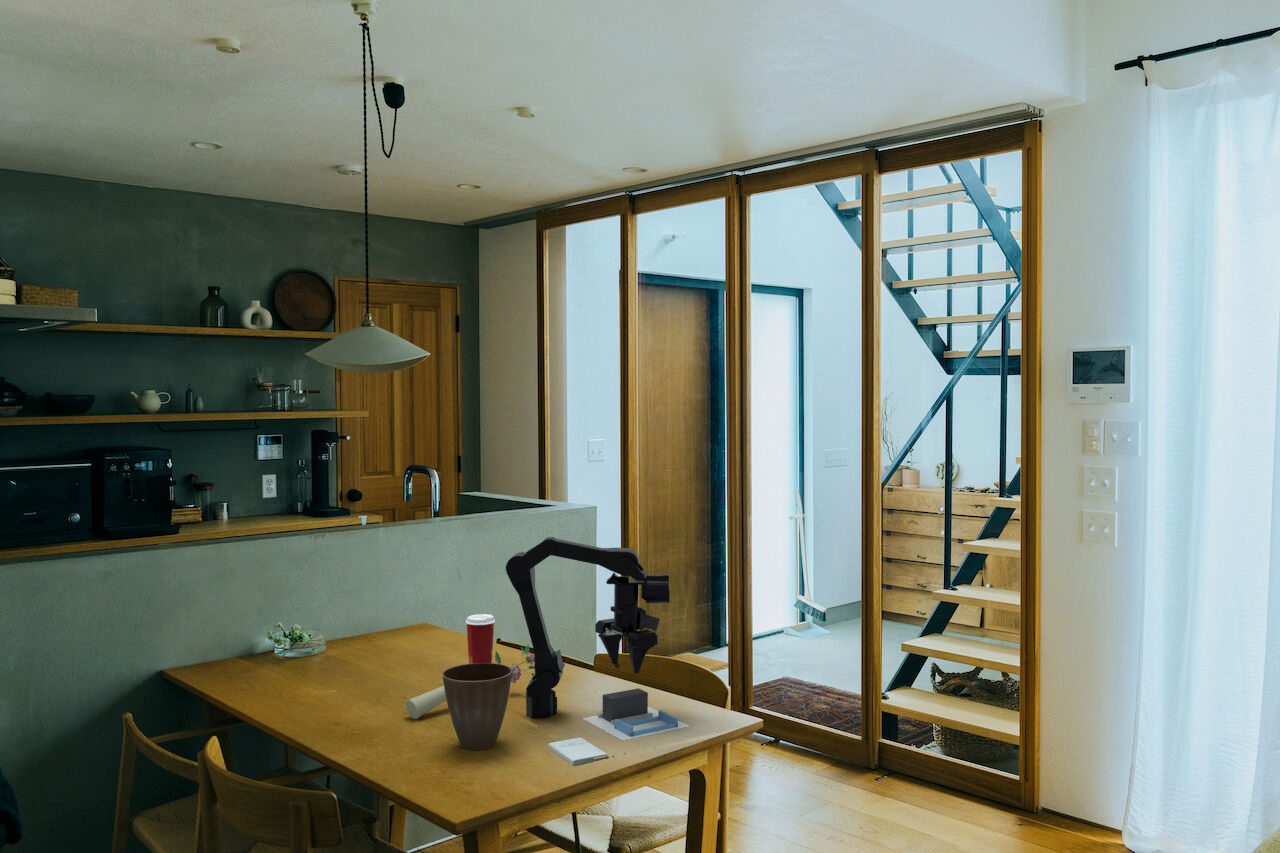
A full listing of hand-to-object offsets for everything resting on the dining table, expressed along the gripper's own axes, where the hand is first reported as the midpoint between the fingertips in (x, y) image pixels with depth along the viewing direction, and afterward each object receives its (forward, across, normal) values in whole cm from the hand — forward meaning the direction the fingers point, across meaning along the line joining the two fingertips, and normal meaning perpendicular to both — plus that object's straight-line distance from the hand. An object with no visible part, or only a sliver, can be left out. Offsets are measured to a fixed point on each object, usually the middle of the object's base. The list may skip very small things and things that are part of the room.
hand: (625, 668), depth 231 cm
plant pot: (+12, +3, +36) cm, 39 cm away
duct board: (+12, -5, 0) cm, 13 cm away
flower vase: (+12, +31, +25) cm, 42 cm away
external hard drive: (+13, -13, +21) cm, 28 cm away
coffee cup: (+12, +59, +10) cm, 61 cm away
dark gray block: (+11, -1, 0) cm, 11 cm away
